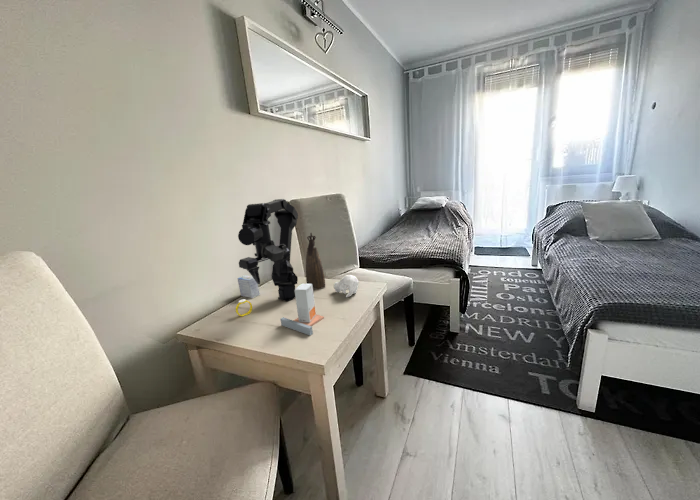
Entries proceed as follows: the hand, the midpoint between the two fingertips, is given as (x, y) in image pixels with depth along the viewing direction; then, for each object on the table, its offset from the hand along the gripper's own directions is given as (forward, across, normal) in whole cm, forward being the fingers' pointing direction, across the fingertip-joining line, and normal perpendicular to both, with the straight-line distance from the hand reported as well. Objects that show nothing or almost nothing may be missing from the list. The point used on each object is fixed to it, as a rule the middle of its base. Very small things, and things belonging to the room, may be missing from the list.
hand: (269, 279), depth 108 cm
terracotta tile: (+13, +1, -17) cm, 21 cm away
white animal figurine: (+13, +26, -14) cm, 32 cm away
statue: (+13, +27, +4) cm, 30 cm away
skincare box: (+13, +1, -17) cm, 21 cm away
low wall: (+13, -5, -18) cm, 23 cm away
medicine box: (+13, +6, +25) cm, 29 cm away
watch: (+13, -7, +9) cm, 18 cm away
